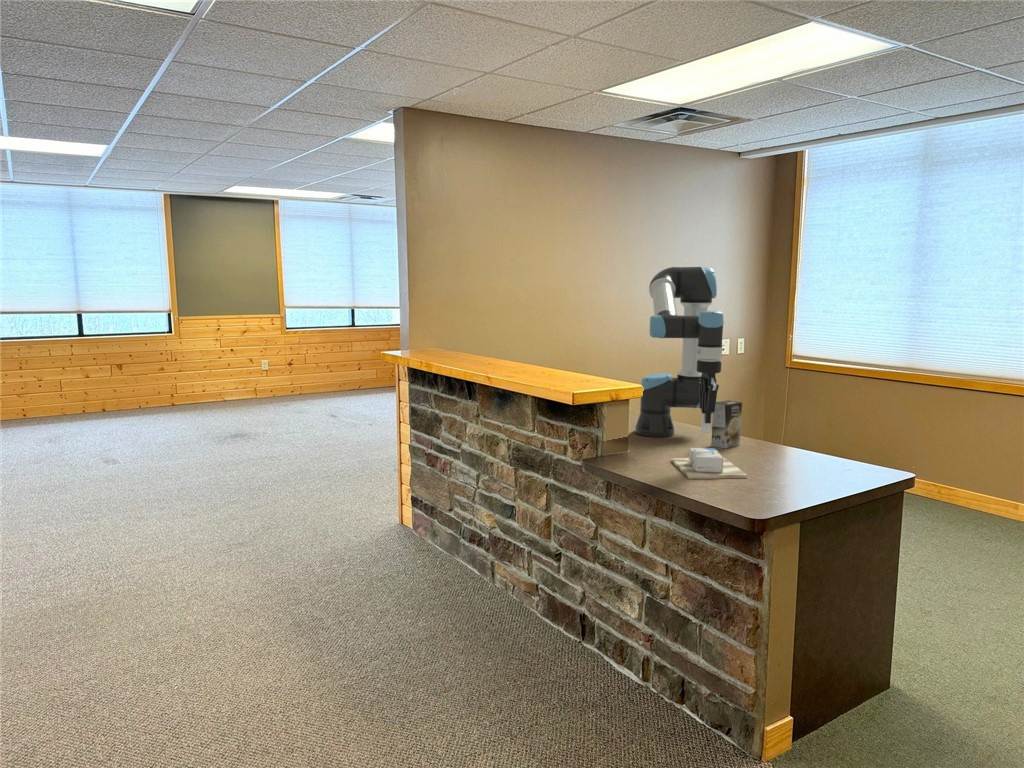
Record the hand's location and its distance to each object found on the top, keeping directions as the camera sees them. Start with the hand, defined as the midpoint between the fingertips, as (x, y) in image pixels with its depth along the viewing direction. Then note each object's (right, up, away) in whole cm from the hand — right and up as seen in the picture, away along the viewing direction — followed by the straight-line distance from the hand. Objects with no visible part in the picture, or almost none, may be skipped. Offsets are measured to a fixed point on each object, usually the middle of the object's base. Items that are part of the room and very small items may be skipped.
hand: (705, 432), depth 221 cm
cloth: (0, -12, -1) cm, 12 cm away
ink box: (0, -8, +3) cm, 8 cm away
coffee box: (+16, -7, +30) cm, 35 cm away
